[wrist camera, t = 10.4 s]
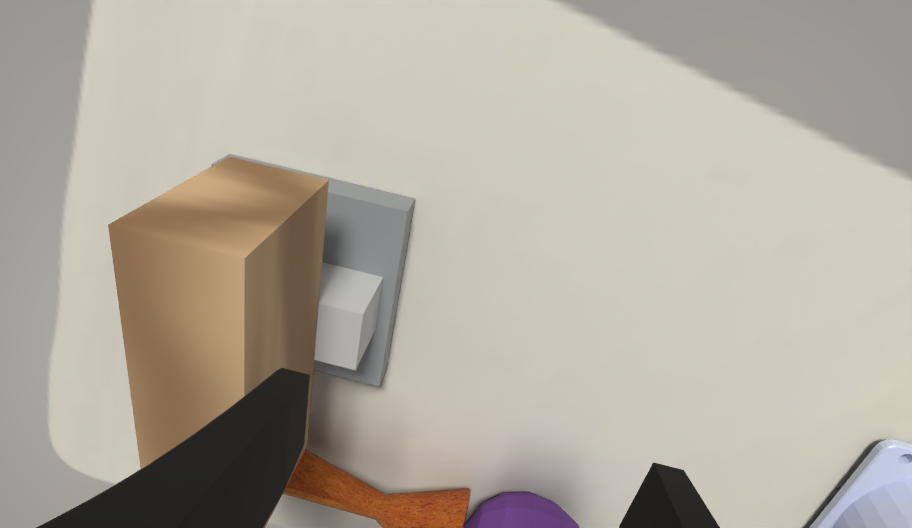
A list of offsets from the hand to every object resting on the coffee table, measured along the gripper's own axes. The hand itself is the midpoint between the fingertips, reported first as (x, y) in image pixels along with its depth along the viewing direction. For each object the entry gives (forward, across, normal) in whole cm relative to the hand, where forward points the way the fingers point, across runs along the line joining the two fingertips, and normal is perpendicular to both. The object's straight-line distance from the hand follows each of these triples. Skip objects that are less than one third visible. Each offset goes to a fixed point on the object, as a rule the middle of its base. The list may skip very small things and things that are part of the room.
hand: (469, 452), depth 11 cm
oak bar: (+6, +7, +3) cm, 10 cm away
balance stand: (+10, +7, +3) cm, 12 cm away
